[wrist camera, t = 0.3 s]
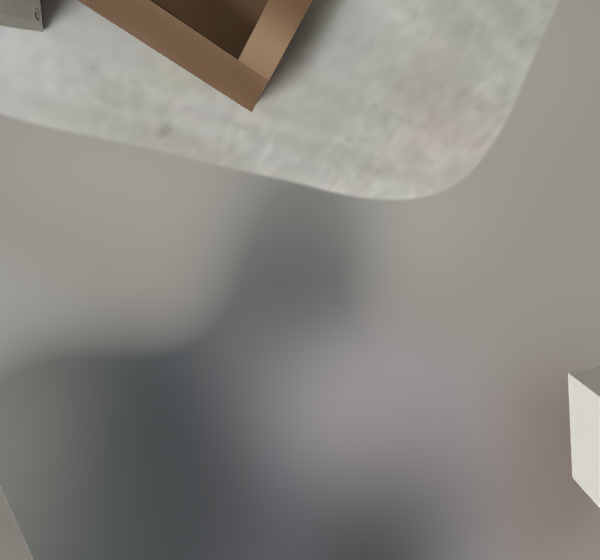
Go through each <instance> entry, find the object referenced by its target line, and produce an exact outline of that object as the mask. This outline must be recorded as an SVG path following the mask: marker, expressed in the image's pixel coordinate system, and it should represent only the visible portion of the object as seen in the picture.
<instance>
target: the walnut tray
mask: <svg viewBox="0 0 600 560" xmlns="http://www.w3.org/2000/svg"><path fill="white" fill-rule="evenodd" d="M78 1H80V2H81V3H83V4H84V5H86V6H88V7H89V8H91V9H92V10H94V11H95V12H97V13H98V14H100V15H102V16H103V17H105V18H106V19H108V20H109V21H111V22H112V23H114V24H116V25H117V26H119V27H120V28H122V29H123V30H125V31H126V32H128V33H130V34H131V35H133V36H134V37H136V38H137V39H139V40H140V41H142V42H144V43H145V44H147V45H148V46H150V47H151V48H153V49H154V50H156V51H158V52H159V53H161V54H162V55H164V56H165V57H167V58H168V59H170V60H172V61H173V62H175V63H176V64H178V65H179V66H181V67H182V68H184V69H186V70H187V71H189V72H190V73H192V74H193V75H195V76H196V77H198V78H200V79H201V80H203V81H204V82H206V83H207V84H209V85H210V86H212V87H214V88H215V89H217V90H218V91H220V92H221V93H223V94H224V95H226V96H227V97H229V98H231V99H232V100H234V101H235V102H237V103H238V104H240V105H241V106H243V107H245V108H246V109H248V110H249V111H251V112H252V110H253V109H254V107H255V105H256V103H257V101H258V99H259V98H260V96H261V94H262V92H263V90H264V88H265V87H266V85H267V83H268V81H269V79H270V77H271V76H272V74H273V72H274V70H275V68H276V66H277V65H278V63H279V61H280V59H281V57H282V55H283V54H284V52H285V50H286V48H287V46H288V45H289V43H290V41H291V39H292V37H293V35H294V34H295V32H296V30H297V28H298V26H299V24H300V23H301V21H302V19H303V17H304V15H305V13H306V12H307V10H308V8H309V6H310V4H311V2H312V1H313V0H78Z"/></svg>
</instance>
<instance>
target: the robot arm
mask: <svg viewBox="0 0 600 560" xmlns="http://www.w3.org/2000/svg"><path fill="white" fill-rule="evenodd" d="M568 383H569V384H568V385H569V408H570V430H571V452H572V477H573V479H574V480H575V481H576V482H577V483H578V484H579V485H580V486H581V487H582V488H583V490H584V491H585V492H586V493H587V494H588V495H589V496H590V498H591V499H592V500H593V501H594V502H595V503H596V504H597V505H598V507H599V508H600V367H597V368H592V369H586V370H581V371H576V372H570V373H568ZM0 560H33V558H32V555H31V553H30V551H29V549H28V546H27V544H26V542H25V540H24V538H23V535H22V533H21V531H20V528H19V526H18V524H17V522H16V519H15V517H14V515H13V513H12V510H11V508H10V506H9V504H8V502H7V499H6V497H5V495H4V493H3V490H2V488H1V486H0Z"/></svg>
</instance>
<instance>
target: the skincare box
mask: <svg viewBox="0 0 600 560" xmlns="http://www.w3.org/2000/svg"><path fill="white" fill-rule="evenodd" d="M0 26H3V27H9V28H16V29H22V30H29V31H36V32H42V31H43V25H42V14H41V3H40V0H0Z"/></svg>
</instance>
